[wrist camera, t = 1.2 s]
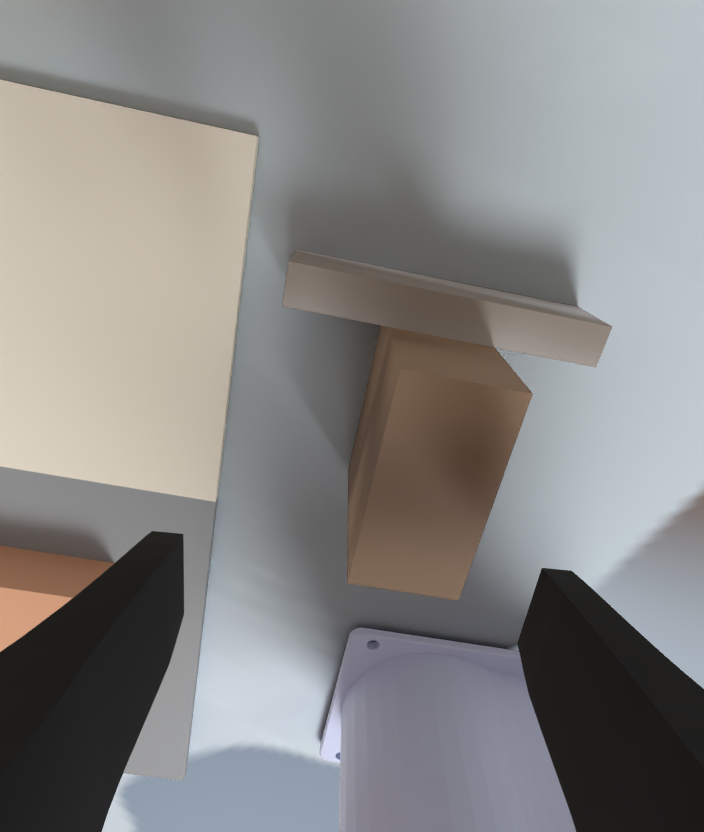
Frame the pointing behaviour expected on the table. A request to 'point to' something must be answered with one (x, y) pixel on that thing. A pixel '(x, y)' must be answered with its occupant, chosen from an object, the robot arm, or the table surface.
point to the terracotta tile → (38, 587)
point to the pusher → (433, 410)
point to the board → (119, 346)
